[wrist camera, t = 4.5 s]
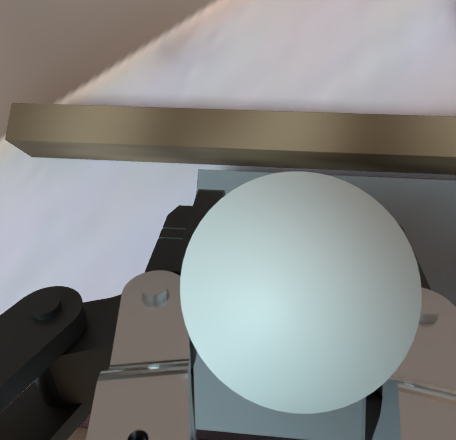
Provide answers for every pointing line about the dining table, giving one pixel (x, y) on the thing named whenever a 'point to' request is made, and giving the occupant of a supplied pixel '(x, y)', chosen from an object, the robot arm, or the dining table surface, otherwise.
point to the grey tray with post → (309, 295)
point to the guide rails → (235, 139)
